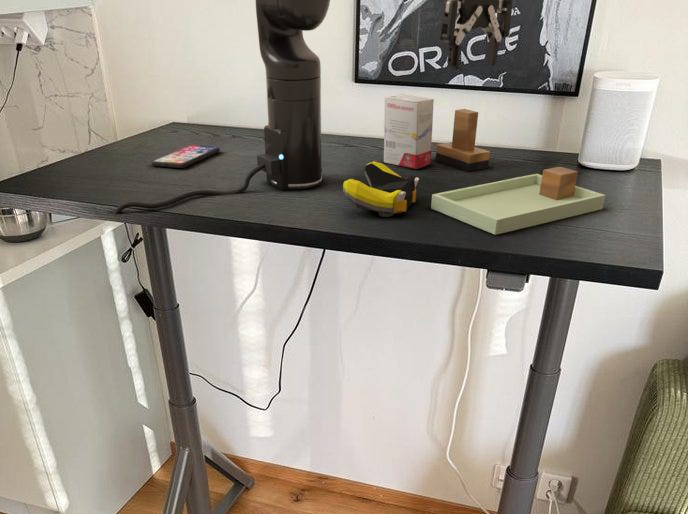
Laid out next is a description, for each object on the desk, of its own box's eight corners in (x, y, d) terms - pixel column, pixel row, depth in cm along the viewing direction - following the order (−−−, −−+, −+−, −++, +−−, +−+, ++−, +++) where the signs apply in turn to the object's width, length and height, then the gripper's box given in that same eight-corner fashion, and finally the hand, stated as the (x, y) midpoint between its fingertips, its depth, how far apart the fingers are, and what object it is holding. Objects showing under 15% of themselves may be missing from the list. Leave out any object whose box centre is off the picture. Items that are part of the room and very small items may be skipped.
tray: (495, 235, 110) (497, 219, 109) (430, 208, 121) (431, 194, 119) (602, 209, 120) (605, 194, 118) (534, 186, 130) (536, 173, 129)
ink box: (431, 165, 142) (436, 98, 135) (414, 170, 139) (419, 102, 132) (398, 157, 147) (401, 92, 140) (381, 162, 145) (383, 96, 137)
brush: (468, 171, 139) (474, 117, 133) (435, 160, 146) (439, 108, 140) (488, 167, 141) (494, 114, 135) (454, 157, 148) (459, 105, 142)
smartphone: (149, 161, 142) (189, 144, 153) (150, 166, 143) (190, 149, 154) (182, 164, 140) (220, 146, 151) (183, 169, 140) (221, 151, 151)
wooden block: (556, 200, 121) (560, 175, 119) (539, 194, 124) (543, 169, 122) (573, 196, 123) (578, 171, 120) (555, 190, 126) (560, 166, 123)
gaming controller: (338, 216, 117) (398, 223, 114) (338, 181, 114) (400, 187, 111) (367, 191, 128) (422, 197, 126) (368, 158, 125) (425, 163, 122)
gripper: (499, -43, 129) (487, 62, 138) (436, -43, 123) (428, 67, 132) (530, -42, 123) (514, 67, 133) (465, -42, 117) (454, 72, 127)
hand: (471, 67), depth 133 cm, fingers open, 8 cm apart
